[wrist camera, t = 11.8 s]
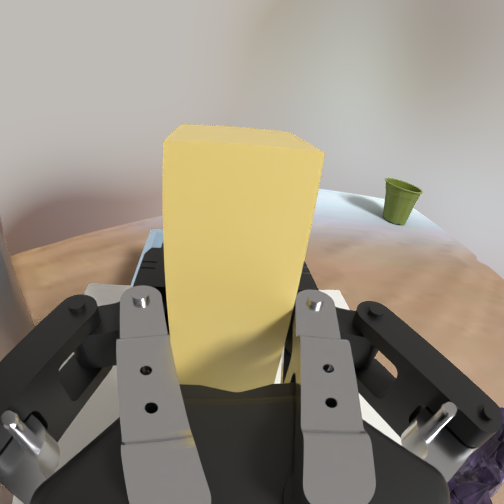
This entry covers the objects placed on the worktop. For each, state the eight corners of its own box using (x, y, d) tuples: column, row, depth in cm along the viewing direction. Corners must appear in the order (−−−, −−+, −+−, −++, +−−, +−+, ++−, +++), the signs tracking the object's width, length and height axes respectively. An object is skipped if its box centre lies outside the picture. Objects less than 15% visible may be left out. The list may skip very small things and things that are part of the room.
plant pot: (413, 233, 77) (425, 196, 71) (375, 221, 80) (385, 183, 74) (410, 219, 86) (420, 186, 81) (376, 208, 90) (384, 175, 84)
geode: (409, 584, 10) (470, 568, 6) (336, 522, 19) (369, 490, 15) (507, 456, 19) (553, 405, 15) (449, 415, 28) (483, 360, 24)
